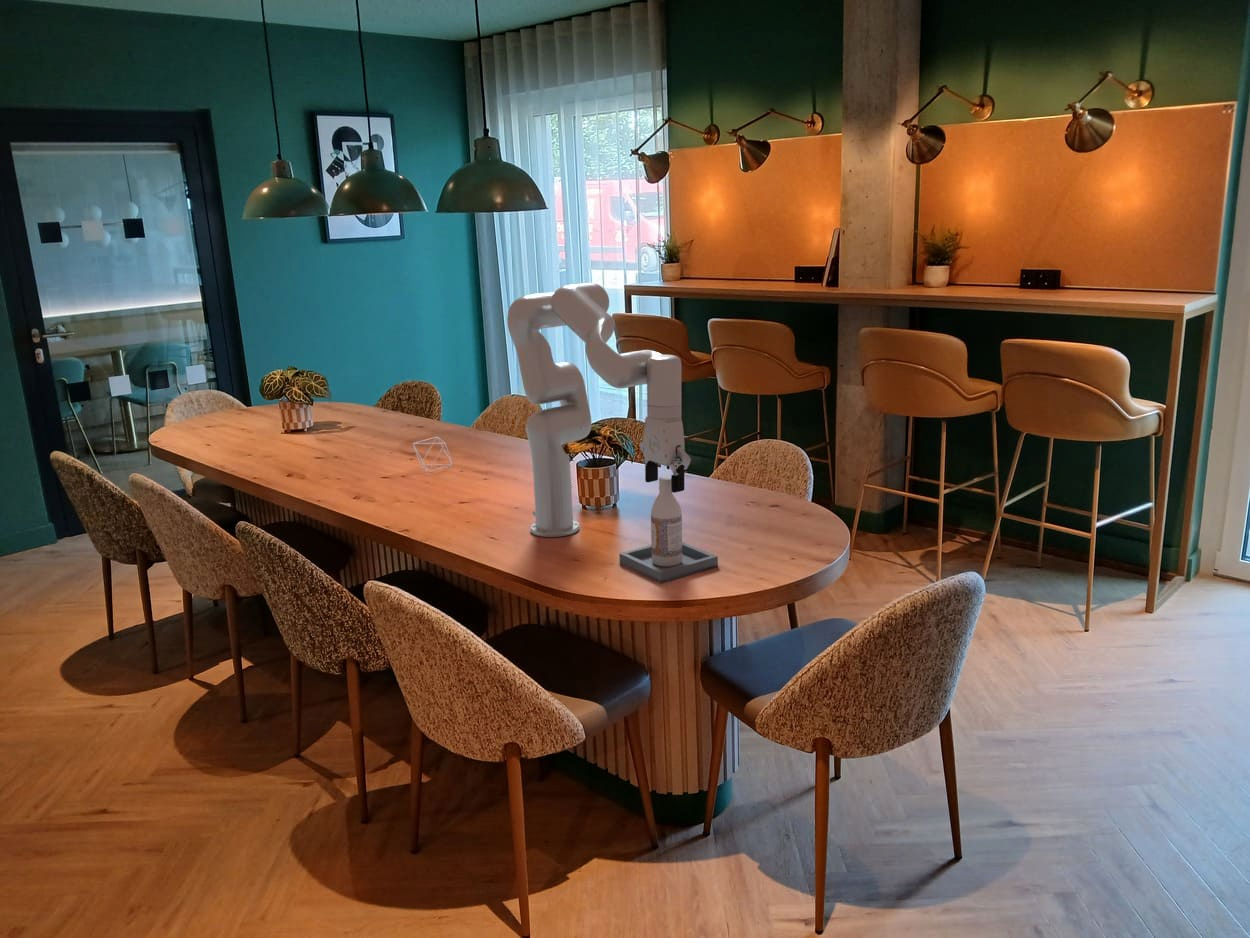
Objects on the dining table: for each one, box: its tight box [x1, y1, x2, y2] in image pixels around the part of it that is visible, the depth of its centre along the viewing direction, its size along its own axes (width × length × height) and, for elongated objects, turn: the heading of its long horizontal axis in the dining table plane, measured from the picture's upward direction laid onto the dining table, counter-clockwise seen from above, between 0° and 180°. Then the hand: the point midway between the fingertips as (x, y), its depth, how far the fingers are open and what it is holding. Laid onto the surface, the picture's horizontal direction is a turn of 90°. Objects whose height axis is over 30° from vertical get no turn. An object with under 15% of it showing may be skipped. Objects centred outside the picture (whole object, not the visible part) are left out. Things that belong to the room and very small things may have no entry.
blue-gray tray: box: [618, 541, 719, 584], centre depth 218 cm, size 16×16×2 cm
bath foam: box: [650, 476, 683, 567], centre depth 216 cm, size 7×7×20 cm
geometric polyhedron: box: [412, 436, 453, 473], centre depth 312 cm, size 12×11×9 cm
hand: (664, 486), depth 214 cm, fingers open, 9 cm apart
